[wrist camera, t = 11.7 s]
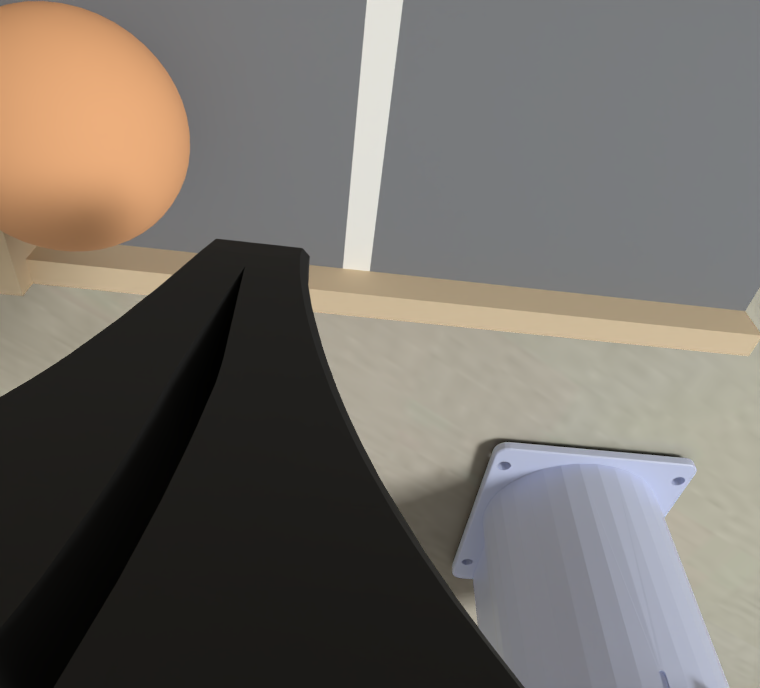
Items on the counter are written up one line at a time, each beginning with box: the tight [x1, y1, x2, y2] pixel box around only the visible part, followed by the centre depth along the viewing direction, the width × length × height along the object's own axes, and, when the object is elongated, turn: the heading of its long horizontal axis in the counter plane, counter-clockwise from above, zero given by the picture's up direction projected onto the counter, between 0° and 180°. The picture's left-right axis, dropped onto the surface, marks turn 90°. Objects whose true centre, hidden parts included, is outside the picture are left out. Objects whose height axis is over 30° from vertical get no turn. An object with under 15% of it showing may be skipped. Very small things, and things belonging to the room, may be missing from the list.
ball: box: [0, 1, 190, 252], centre depth 13 cm, size 5×5×5 cm
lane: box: [0, 0, 760, 356], centre depth 15 cm, size 11×22×2 cm, turn 83°
